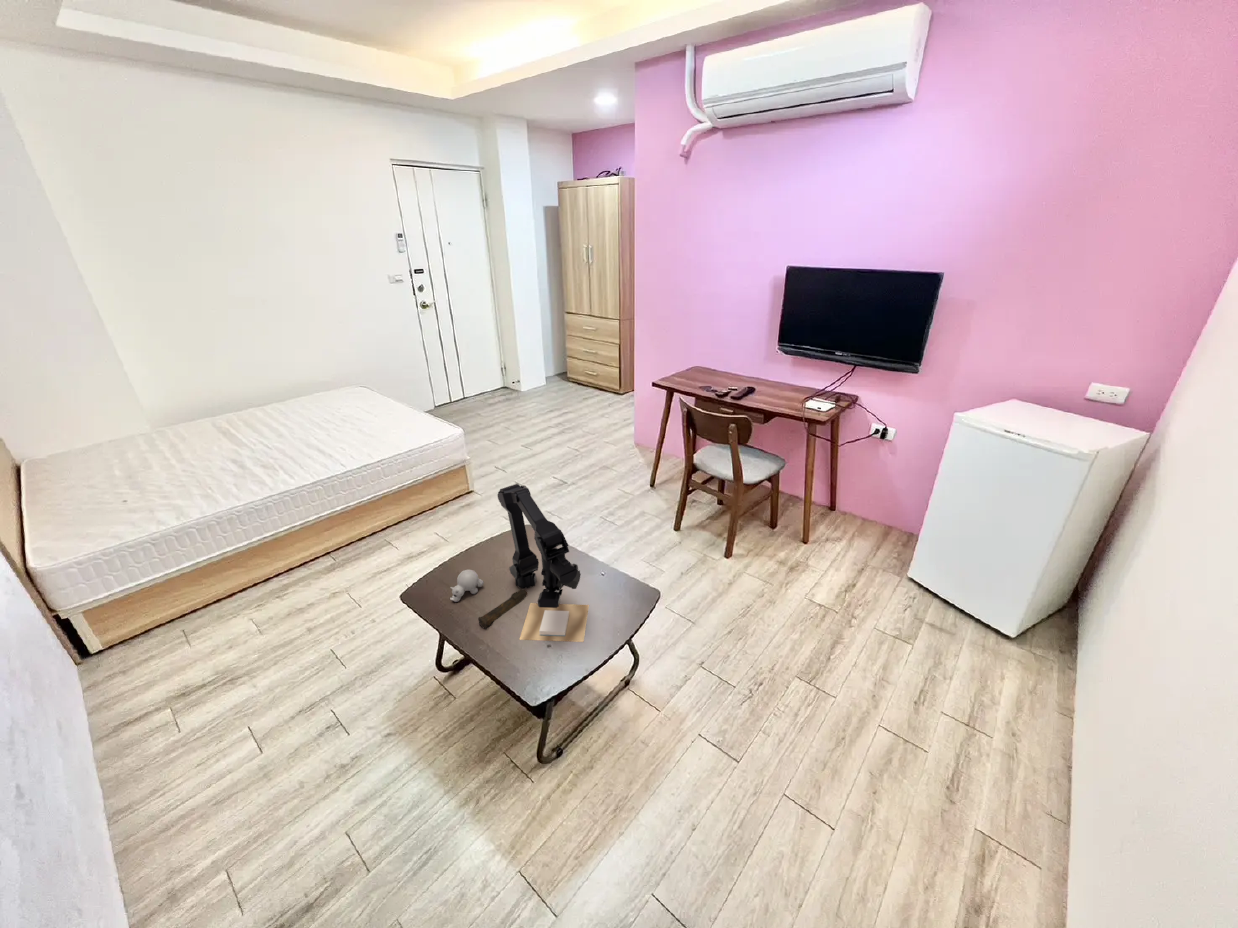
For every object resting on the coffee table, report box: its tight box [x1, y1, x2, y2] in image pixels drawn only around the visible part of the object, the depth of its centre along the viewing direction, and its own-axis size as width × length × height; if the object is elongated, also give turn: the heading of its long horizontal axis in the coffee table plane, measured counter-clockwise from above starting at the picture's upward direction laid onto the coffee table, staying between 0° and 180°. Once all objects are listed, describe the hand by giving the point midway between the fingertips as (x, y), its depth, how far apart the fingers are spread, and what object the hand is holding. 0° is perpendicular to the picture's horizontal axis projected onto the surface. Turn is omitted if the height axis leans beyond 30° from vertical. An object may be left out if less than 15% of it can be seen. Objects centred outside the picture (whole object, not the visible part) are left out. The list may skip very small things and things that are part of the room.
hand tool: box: [478, 588, 528, 630], centre depth 158 cm, size 19×4×5 cm, turn 137°
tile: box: [539, 610, 569, 636], centre depth 151 cm, size 8×2×9 cm
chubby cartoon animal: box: [449, 569, 484, 603], centre depth 165 cm, size 7×12×8 cm, turn 142°
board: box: [518, 602, 590, 643], centre depth 153 cm, size 20×16×1 cm
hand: (555, 604), depth 151 cm, fingers closed
